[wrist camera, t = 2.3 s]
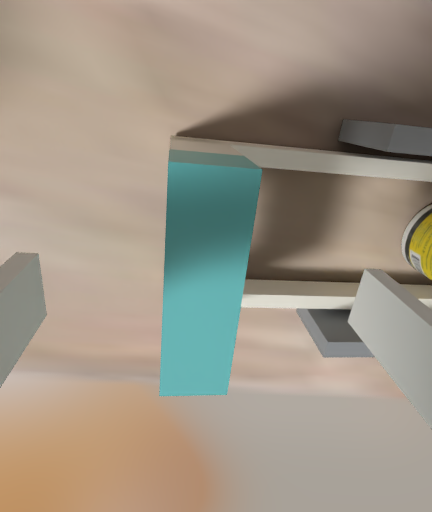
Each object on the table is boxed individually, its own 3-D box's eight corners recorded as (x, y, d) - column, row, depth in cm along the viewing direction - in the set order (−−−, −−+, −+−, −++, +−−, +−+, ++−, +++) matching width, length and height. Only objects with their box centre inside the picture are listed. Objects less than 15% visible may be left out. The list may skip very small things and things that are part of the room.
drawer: (164, 289, 22) (159, 396, 14) (171, 135, 18) (168, 161, 10) (465, 297, 26) (599, 386, 18) (529, 170, 22) (742, 210, 13)
